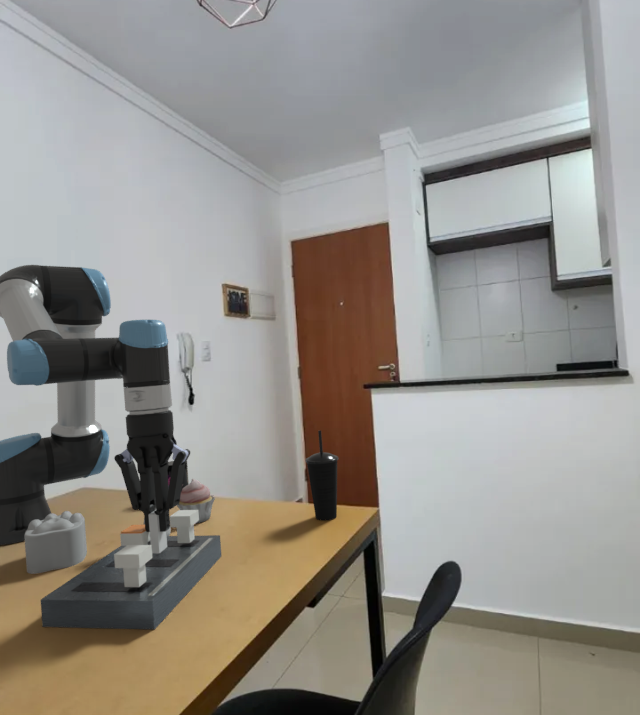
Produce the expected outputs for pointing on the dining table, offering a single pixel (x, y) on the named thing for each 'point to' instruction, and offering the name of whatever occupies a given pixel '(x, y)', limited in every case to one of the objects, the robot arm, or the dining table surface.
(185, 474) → the supplement container
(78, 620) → the panel
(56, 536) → the lumpy-topped squat cylinder
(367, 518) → the dining table surface
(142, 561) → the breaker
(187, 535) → the breaker
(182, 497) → the cupcake
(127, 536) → the block
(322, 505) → the drinking cup
